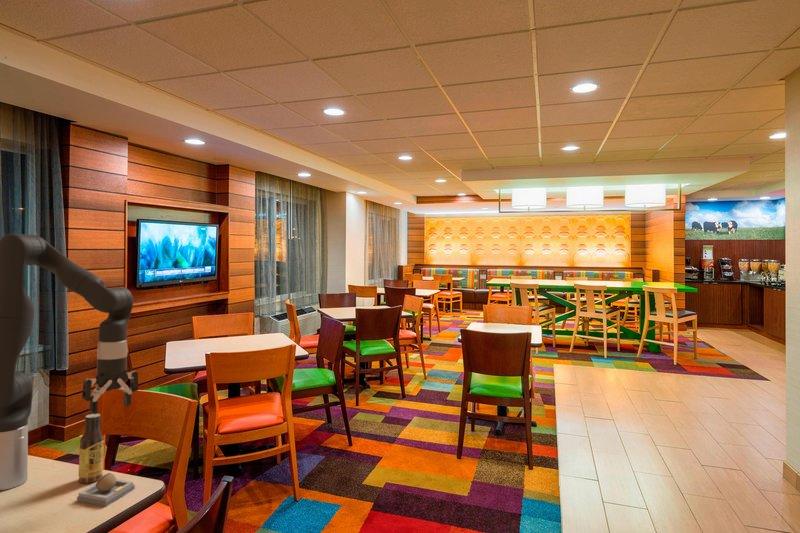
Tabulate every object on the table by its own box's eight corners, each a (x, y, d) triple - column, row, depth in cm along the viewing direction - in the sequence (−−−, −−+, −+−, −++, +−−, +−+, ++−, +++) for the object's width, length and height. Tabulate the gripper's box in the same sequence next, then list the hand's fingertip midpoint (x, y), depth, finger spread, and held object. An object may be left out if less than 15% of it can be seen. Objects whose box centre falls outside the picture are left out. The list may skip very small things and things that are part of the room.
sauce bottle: (90, 485, 139) (91, 420, 138) (73, 483, 140) (73, 418, 140) (108, 475, 145) (109, 413, 145) (91, 473, 146) (92, 411, 146)
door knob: (116, 485, 137) (116, 468, 137) (115, 493, 133) (115, 476, 133) (96, 488, 135) (97, 471, 135) (94, 496, 131) (94, 479, 130)
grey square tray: (77, 501, 130) (77, 492, 130) (107, 484, 140) (107, 475, 140) (106, 506, 128) (106, 497, 128) (134, 488, 138) (134, 480, 138)
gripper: (132, 350, 144) (130, 401, 144) (79, 357, 132) (77, 412, 133) (143, 354, 139) (141, 407, 140) (90, 361, 128) (88, 419, 128)
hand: (110, 409), depth 136 cm, fingers open, 8 cm apart
